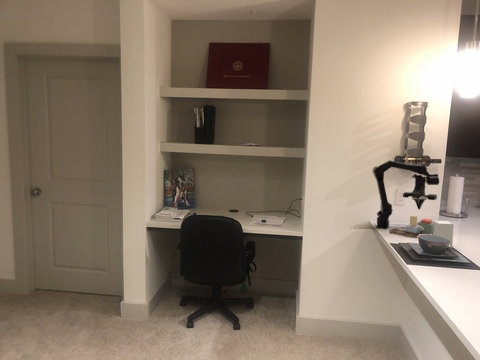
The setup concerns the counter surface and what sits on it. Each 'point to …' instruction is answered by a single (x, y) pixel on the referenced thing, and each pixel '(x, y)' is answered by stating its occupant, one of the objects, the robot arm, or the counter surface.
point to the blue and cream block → (413, 225)
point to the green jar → (427, 227)
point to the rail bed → (405, 232)
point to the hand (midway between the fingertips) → (419, 209)
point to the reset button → (426, 221)
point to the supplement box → (444, 229)
